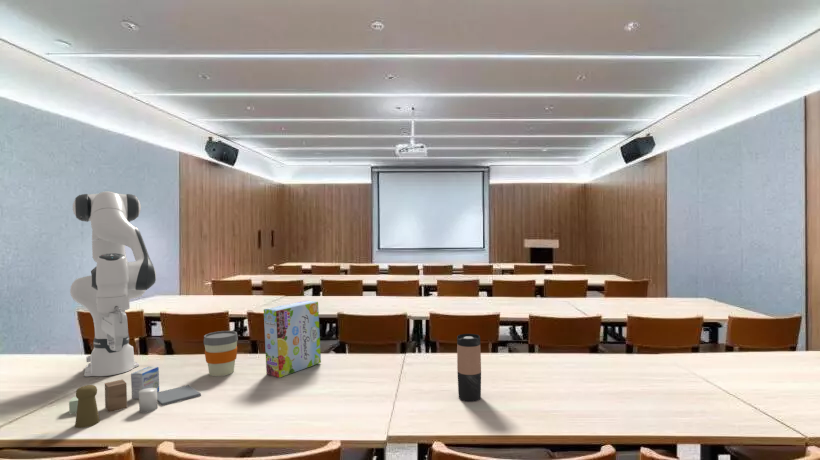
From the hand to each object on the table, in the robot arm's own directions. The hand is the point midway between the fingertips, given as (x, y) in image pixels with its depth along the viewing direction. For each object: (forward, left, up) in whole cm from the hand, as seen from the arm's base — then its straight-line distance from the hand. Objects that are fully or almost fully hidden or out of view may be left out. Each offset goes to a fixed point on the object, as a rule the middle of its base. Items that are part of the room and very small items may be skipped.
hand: (114, 348), depth 149 cm
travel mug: (+76, +84, -19) cm, 115 cm away
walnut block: (0, 0, -19) cm, 19 cm away
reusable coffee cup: (-11, +38, -19) cm, 44 cm away
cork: (+8, -9, -19) cm, 23 cm away
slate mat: (+3, +17, -19) cm, 26 cm away
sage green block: (-6, -8, -19) cm, 22 cm away
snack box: (+6, +60, -19) cm, 63 cm away
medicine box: (-6, +10, -19) cm, 23 cm away
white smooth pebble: (+9, +7, -19) cm, 22 cm away
